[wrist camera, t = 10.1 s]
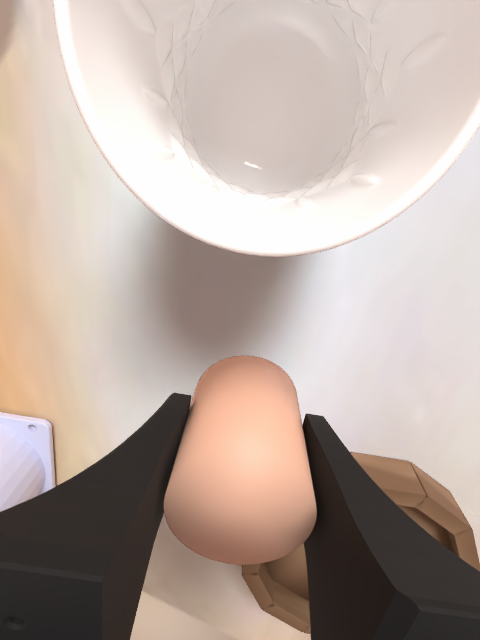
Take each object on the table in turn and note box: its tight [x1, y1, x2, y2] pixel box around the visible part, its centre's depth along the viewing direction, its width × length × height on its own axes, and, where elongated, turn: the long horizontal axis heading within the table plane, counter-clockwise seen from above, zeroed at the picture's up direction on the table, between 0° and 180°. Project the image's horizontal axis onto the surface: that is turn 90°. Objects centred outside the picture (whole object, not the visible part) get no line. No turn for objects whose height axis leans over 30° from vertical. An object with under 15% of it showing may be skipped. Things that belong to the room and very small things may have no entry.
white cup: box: [53, 0, 480, 257], centre depth 11 cm, size 8×8×10 cm
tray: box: [242, 452, 480, 634], centre depth 24 cm, size 14×14×2 cm
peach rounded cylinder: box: [164, 356, 317, 565], centre depth 12 cm, size 4×4×5 cm
